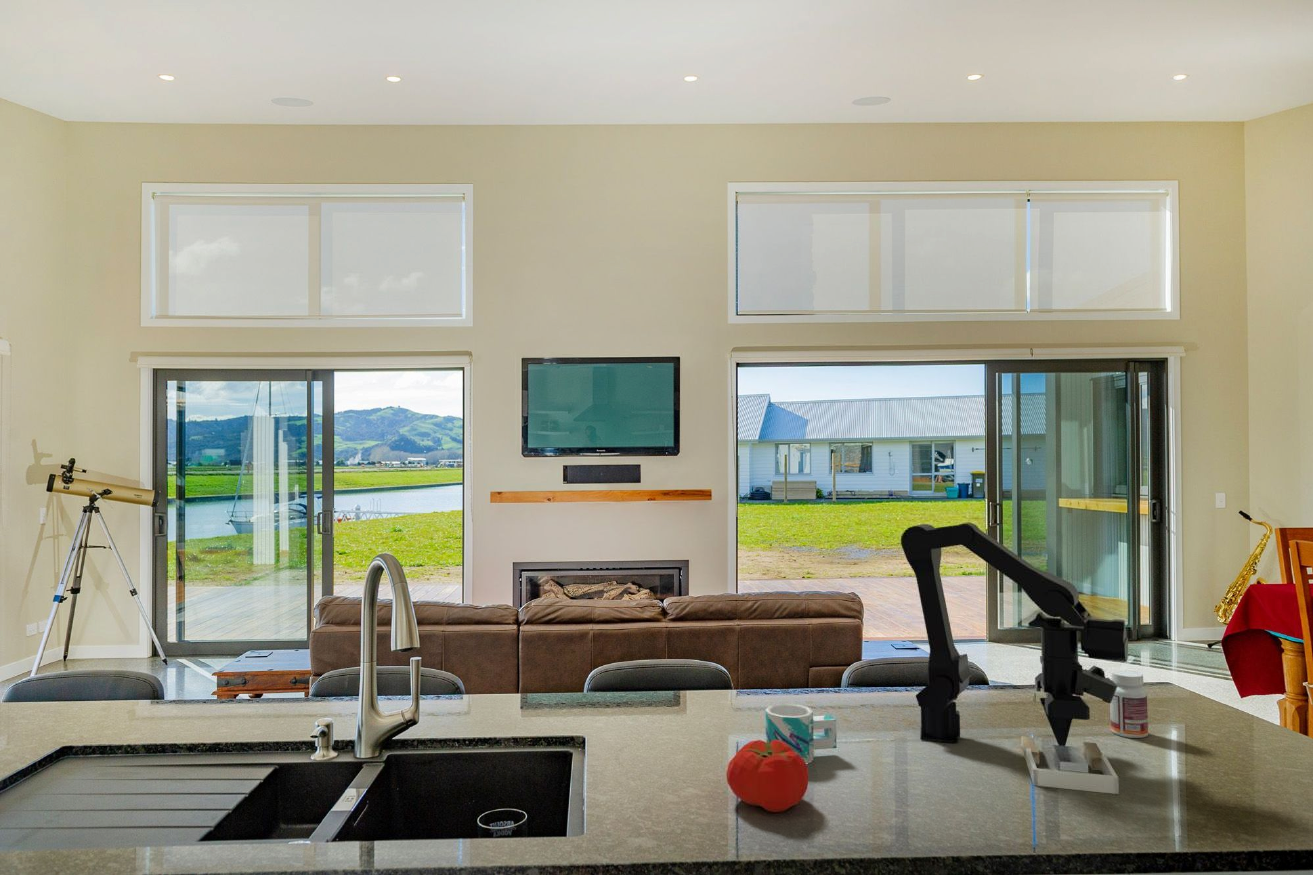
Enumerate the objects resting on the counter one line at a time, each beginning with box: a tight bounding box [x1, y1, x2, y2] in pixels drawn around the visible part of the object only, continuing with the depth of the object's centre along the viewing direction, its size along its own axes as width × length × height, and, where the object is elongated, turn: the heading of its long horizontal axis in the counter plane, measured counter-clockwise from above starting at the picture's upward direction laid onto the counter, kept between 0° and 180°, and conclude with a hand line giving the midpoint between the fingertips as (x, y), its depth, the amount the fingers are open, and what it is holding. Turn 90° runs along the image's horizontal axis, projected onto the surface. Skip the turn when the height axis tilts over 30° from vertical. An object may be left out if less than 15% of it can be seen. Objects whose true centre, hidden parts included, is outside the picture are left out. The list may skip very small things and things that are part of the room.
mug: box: [765, 703, 837, 764], centre depth 144 cm, size 8×12×8 cm
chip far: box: [1052, 744, 1085, 770], centre depth 136 cm, size 4×4×4 cm
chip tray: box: [1025, 748, 1120, 795], centre depth 134 cm, size 12×10×2 cm
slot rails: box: [1020, 735, 1103, 771], centre depth 142 cm, size 12×8×2 cm, turn 72°
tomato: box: [725, 739, 809, 813], centre depth 125 cm, size 13×12×8 cm
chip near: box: [1056, 753, 1089, 774], centre depth 132 cm, size 4×4×4 cm
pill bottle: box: [1109, 669, 1149, 739], centre depth 155 cm, size 6×6×11 cm
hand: (1061, 745), depth 142 cm, fingers closed
